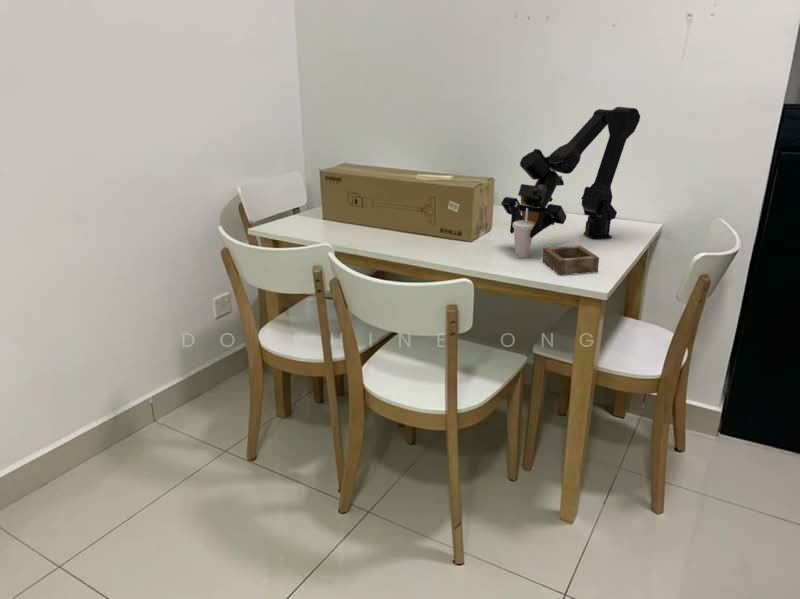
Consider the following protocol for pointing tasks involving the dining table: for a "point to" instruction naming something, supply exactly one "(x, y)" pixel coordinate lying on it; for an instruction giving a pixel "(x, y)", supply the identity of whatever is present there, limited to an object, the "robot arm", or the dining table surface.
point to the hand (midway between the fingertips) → (520, 234)
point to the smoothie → (523, 236)
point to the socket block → (570, 260)
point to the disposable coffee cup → (529, 213)
